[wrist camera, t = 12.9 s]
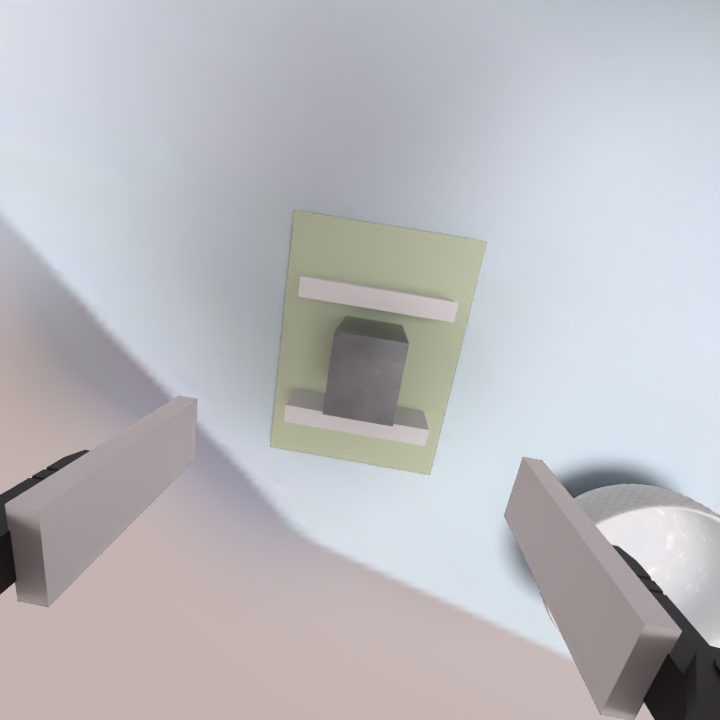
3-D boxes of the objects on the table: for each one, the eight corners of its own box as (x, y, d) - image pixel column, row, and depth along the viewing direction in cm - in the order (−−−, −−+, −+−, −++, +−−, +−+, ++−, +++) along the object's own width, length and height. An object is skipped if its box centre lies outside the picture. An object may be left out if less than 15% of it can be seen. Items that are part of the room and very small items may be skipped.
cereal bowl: (651, 431, 33) (721, 472, 26) (711, 557, 36) (788, 624, 29) (489, 506, 36) (513, 560, 29) (556, 616, 39) (593, 689, 32)
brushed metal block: (346, 315, 31) (334, 331, 23) (402, 325, 30) (409, 343, 23) (336, 379, 32) (322, 414, 24) (390, 388, 32) (392, 426, 24)
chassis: (298, 212, 30) (280, 200, 25) (481, 242, 30) (503, 237, 24) (274, 439, 36) (255, 469, 30) (428, 466, 35) (436, 501, 30)
